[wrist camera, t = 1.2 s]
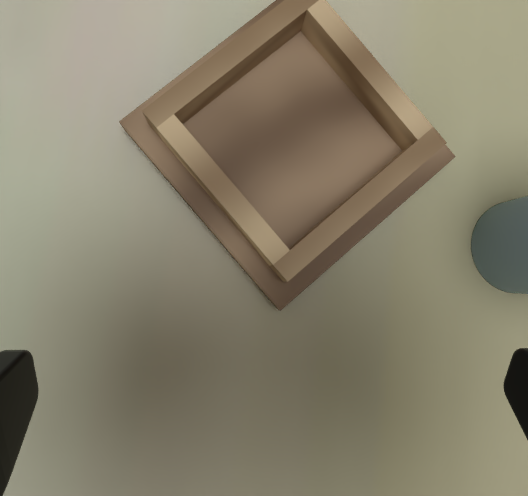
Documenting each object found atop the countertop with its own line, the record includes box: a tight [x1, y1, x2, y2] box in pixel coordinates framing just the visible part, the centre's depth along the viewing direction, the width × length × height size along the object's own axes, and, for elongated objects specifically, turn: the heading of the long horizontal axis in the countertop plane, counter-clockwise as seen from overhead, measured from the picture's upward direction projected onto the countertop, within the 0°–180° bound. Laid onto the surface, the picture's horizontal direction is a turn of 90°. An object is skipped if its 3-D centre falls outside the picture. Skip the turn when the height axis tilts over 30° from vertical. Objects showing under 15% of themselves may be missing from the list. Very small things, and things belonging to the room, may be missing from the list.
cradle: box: [119, 0, 455, 311], centre depth 21 cm, size 12×12×3 cm
